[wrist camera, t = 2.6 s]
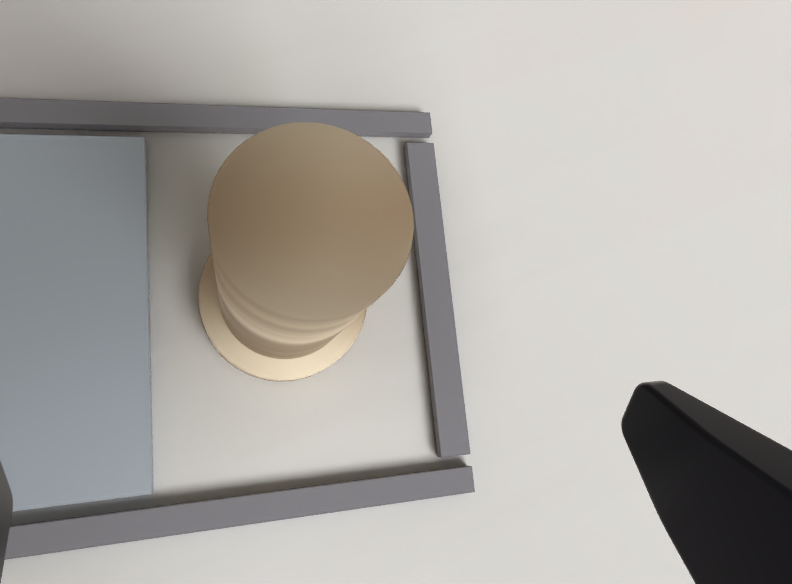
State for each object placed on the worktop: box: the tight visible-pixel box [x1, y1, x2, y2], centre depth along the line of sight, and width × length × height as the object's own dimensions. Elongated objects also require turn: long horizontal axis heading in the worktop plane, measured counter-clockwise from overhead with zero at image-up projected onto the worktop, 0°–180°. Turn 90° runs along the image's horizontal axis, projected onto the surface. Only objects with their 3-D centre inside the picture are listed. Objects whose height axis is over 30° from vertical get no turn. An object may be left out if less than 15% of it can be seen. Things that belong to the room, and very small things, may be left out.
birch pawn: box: [198, 122, 414, 381], centre depth 16 cm, size 5×5×8 cm
